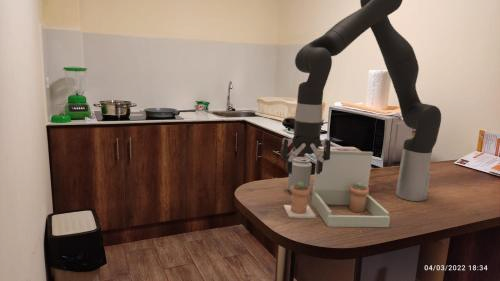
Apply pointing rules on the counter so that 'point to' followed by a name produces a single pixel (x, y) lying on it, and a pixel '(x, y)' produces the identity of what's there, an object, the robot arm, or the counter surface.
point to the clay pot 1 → (299, 198)
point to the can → (300, 172)
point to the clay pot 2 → (358, 197)
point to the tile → (291, 214)
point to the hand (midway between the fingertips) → (303, 173)
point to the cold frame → (346, 189)
